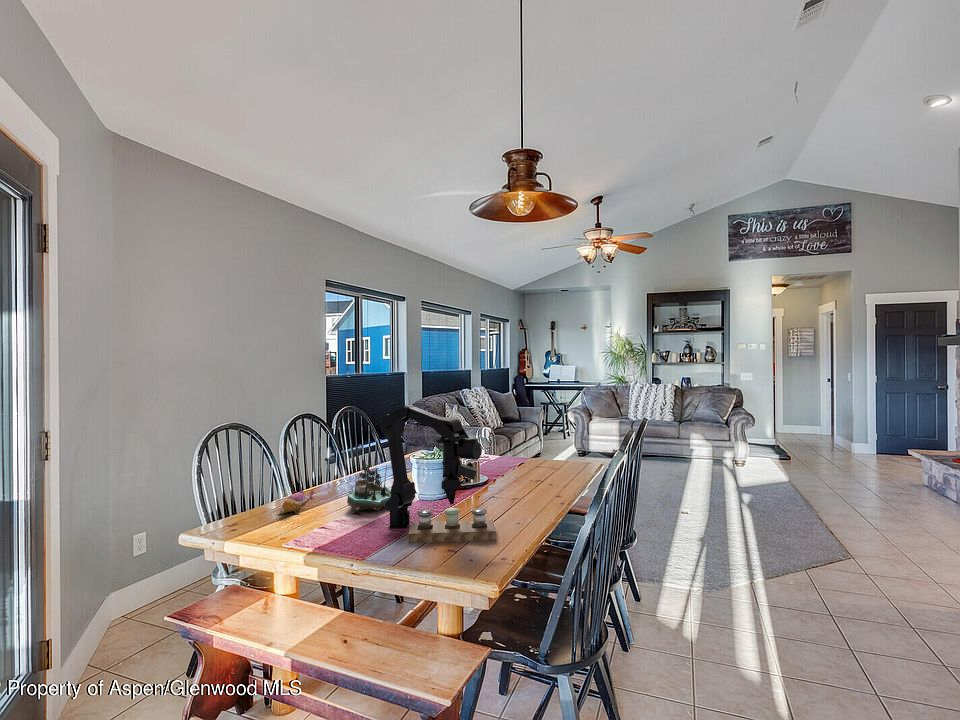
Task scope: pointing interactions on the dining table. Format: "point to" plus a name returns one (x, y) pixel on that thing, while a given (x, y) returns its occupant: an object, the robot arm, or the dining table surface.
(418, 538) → the walnut board
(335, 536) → the dining table surface
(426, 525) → the plunger
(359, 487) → the diorama
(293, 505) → the figurine
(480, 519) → the plunger
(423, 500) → the dining table surface
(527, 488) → the dining table surface
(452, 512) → the sage plug
